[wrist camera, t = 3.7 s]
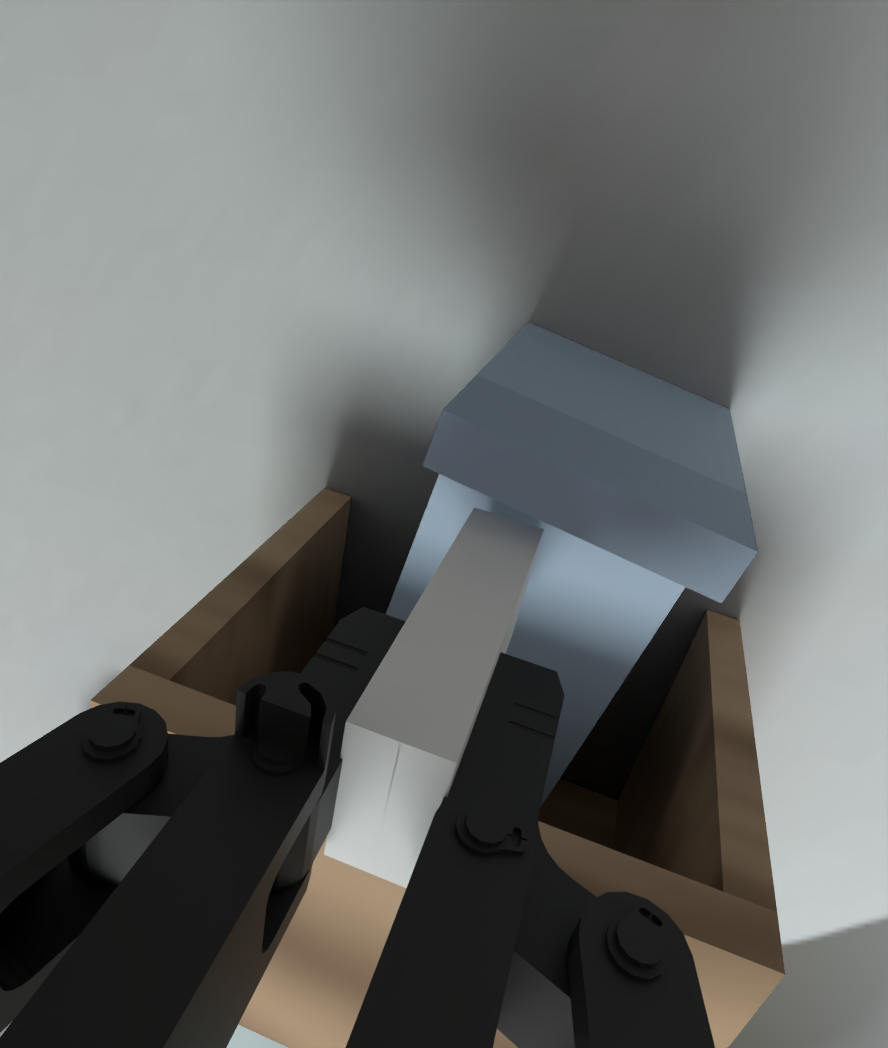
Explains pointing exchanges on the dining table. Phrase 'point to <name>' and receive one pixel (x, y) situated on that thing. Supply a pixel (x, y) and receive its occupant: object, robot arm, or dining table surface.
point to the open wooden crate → (564, 818)
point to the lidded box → (587, 509)
